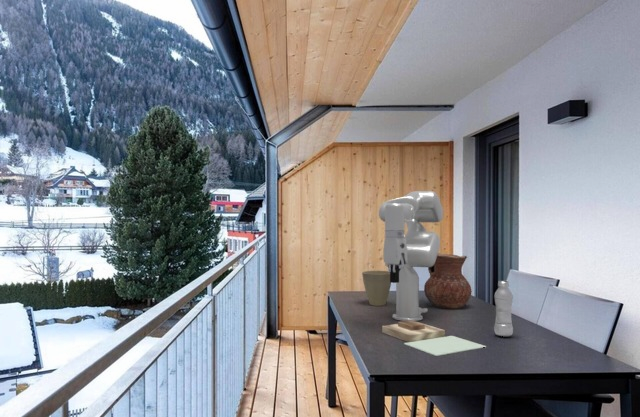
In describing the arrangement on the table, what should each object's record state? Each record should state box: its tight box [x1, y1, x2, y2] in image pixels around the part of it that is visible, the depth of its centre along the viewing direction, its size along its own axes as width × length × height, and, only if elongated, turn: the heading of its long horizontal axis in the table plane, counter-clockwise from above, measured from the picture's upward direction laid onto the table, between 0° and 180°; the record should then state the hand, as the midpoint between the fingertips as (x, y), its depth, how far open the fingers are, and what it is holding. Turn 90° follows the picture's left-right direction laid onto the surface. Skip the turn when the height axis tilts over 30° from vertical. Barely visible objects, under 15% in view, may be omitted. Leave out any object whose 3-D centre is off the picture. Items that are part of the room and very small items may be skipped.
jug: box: [423, 252, 472, 310], centre depth 233 cm, size 22×21×25 cm
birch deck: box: [381, 321, 446, 343], centre depth 177 cm, size 16×16×2 cm
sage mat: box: [403, 335, 487, 357], centre depth 162 cm, size 22×16×1 cm
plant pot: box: [361, 270, 392, 307], centre depth 236 cm, size 15×15×16 cm
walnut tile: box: [397, 320, 425, 331], centre depth 178 cm, size 6×8×2 cm
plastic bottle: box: [493, 280, 514, 338], centre depth 175 cm, size 6×7×20 cm
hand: (394, 282), depth 186 cm, fingers closed
